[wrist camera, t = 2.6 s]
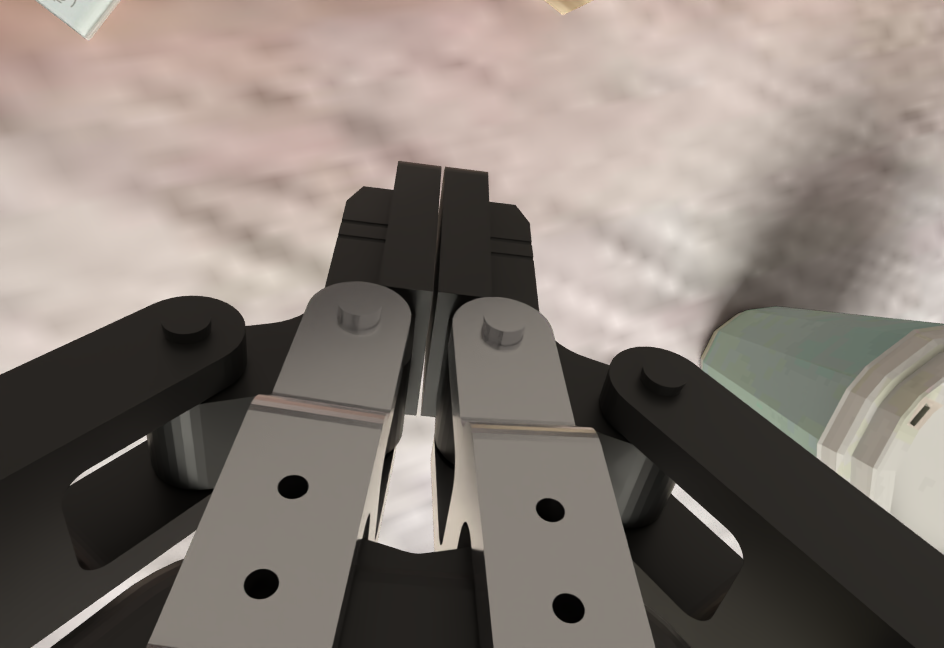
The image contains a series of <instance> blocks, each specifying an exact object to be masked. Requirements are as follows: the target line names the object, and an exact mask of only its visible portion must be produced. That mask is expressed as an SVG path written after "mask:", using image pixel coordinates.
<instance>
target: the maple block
mask: <svg viewBox="0 0 944 648" xmlns="http://www.w3.org/2000/svg"><path fill="white" fill-rule="evenodd" d="M544 1H546V2H547V3H548V4H549V5H551V6H552V7H553V8H554V9H556V10H557V11H558V12H559V13H561V14H562V15H564V14H566V13H568V12H570V11H572V10H574V9H577V8H579V7H581V6H583V5H585V4H587V3H589V2H591V1H593V0H544Z"/></svg>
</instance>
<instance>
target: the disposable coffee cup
mask: <svg viewBox="0 0 944 648" xmlns="http://www.w3.org/2000/svg"><path fill="white" fill-rule="evenodd" d="M701 369H702V370H703V371H704V372H705V373H707V374H708V375H709V376H711V377H712V378H713V379H715V380H716V381H717V382H719V383H720V384H721V385H722V386H724V387H725V388H726V389H728V390H729V391H730V392H732V393H733V394H734V395H736V396H737V397H738V398H739V399H741V400H742V401H743V402H745V403H746V404H747V405H749V406H750V407H751V408H752V409H754V410H755V411H756V412H758V413H759V414H760V415H762V416H763V417H764V418H766V419H767V420H768V421H769V422H771V423H772V424H773V425H775V426H776V427H777V428H779V429H780V430H781V431H783V432H784V433H785V434H786V435H788V436H789V437H790V438H792V439H793V440H794V441H796V442H797V443H798V444H800V445H801V446H802V447H803V448H805V449H806V450H807V451H809V452H810V453H811V454H813V455H814V456H815V457H817V458H818V459H819V460H820V461H822V462H823V463H824V464H826V465H827V466H828V467H830V468H831V469H832V470H834V471H835V472H836V473H837V474H839V475H840V476H841V477H843V478H844V479H845V480H847V481H848V482H849V483H851V484H852V485H853V486H854V487H856V488H857V489H858V490H860V491H861V492H862V493H864V494H865V495H866V496H868V497H869V498H870V499H871V500H873V501H874V502H875V503H877V504H878V505H879V506H881V507H882V508H883V509H885V510H886V511H887V512H888V513H890V514H891V515H892V516H894V517H895V518H896V519H898V520H899V521H900V522H901V523H903V524H904V525H905V526H907V527H908V528H909V529H911V530H912V531H913V532H915V533H916V534H917V535H918V536H920V537H921V538H922V539H924V540H925V541H926V542H928V543H929V544H930V545H932V546H933V547H934V548H935V549H937V550H938V551H939V552H941V553H942V554H943V555H944V324H940V323H931V322H921V321H912V320H902V319H893V318H883V317H874V316H864V315H855V314H845V313H836V312H826V311H816V310H807V309H797V308H788V307H778V306H775V307H767V308H760V309H752V310H745V311H744V312H741V313H738V314H736V315H735V316H734V317H732V318H731V319H730V320H728V321H727V322H726V323H724V324H723V325H722V326H720V327H719V328H718V329H716V330H715V331H714V333H713V335H712V337H711V339H710V341H709V343H708V345H707V347H706V349H705V351H704V353H703V354H702V356H701Z"/></svg>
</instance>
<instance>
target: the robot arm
mask: <svg viewBox="0 0 944 648" xmlns="http://www.w3.org/2000/svg"><path fill="white" fill-rule="evenodd" d="M440 181H441V166H434V165H426V164H419V163H411V162H403V161H398V166H397V172H396V179H395V185H394V190H389V189H381V188H373V187H365V186H363V187H362V188H361V189H360V190H359V191H357V192H356V193H355V194H354V195H353V196H352V197H350V198H349V199H348V200H347V202H346V206H345V210H344V213H343V217H342V223H341V225H340V229H339V233H338V238H337V241H336V245H335V249H334V253H333V257H332V261H331V265H330V269H329V273H328V277H327V281H326V285H325V288H324V289H322V290H320V291H319V292H317V293H316V294H315V295H314V296H313V297H312V298H311V299H310V301H309V303H308V305H307V307H306V310H305V312H304V314H302V315H300V316H298V317H295V318H293V319H290V320H286V321H282V322H277V323H270V324H261V325H252V326H245V321H244V319H243V317H242V315H241V314H240V313H239V311H237V310H236V309H235V308H234V307H233V306H231V305H229V304H228V303H226V302H223V301H221V300H218V299H214V298H210V297H203V296H181V297H175V298H170V299H166V300H162V301H160V302H157V303H155V304H152V305H150V306H148V307H146V308H144V309H141V310H139V311H137V312H135V313H133V314H131V315H128V316H126V317H124V318H122V319H120V320H118V321H115V322H113V323H111V324H109V325H107V326H105V327H103V328H100V329H98V330H96V331H94V332H92V333H90V334H87V335H85V336H83V337H81V338H79V339H77V340H74V341H72V342H70V343H68V344H66V345H64V346H61V347H59V348H57V349H55V350H53V351H51V352H48V353H46V354H44V355H42V356H40V357H38V358H35V359H33V360H31V361H29V362H27V363H25V364H22V365H20V366H18V367H16V368H14V369H12V370H10V371H7V372H5V373H3V374H1V375H0V648H31V647H32V646H34V645H35V644H37V643H38V642H39V641H41V640H42V639H44V638H45V637H46V636H48V635H49V634H51V633H52V632H53V631H55V630H56V629H58V628H59V627H60V626H62V625H63V624H65V623H66V622H67V621H69V620H70V619H72V618H73V617H74V616H76V615H77V614H79V613H80V612H82V611H83V610H84V609H86V608H87V607H89V606H90V605H91V604H93V603H94V602H96V601H97V600H98V599H100V598H101V597H103V596H104V595H105V594H107V593H108V592H110V591H111V590H112V589H114V588H115V587H117V586H118V585H120V584H121V583H122V582H124V581H125V580H127V579H128V578H129V577H131V576H132V575H134V574H135V573H136V572H138V571H139V570H141V569H142V568H143V567H145V566H146V565H148V564H149V563H150V562H152V561H153V560H155V559H156V558H157V557H159V556H160V555H162V554H163V553H165V552H166V551H167V550H169V549H170V548H172V547H173V546H174V545H176V544H177V543H179V542H180V541H181V540H183V539H184V538H186V537H187V536H188V535H190V534H191V533H193V532H194V531H195V530H196V532H195V535H194V537H193V539H192V542H191V544H190V546H189V549H188V551H187V553H186V556H185V558H184V559H182V560H179V561H176V562H174V563H172V564H170V565H168V566H166V567H164V568H162V569H160V570H157V571H155V572H154V573H152V574H150V575H149V576H147V577H145V578H144V579H142V580H140V581H139V582H137V583H135V584H134V585H132V586H131V587H130V588H128V589H127V590H125V591H124V592H123V593H121V594H120V595H119V596H117V597H116V598H115V599H113V600H112V601H111V602H109V603H108V604H107V605H106V606H104V607H103V608H102V609H100V610H99V611H98V612H96V613H95V614H94V615H92V616H91V617H90V618H89V619H87V620H86V621H85V622H83V623H82V624H81V625H79V626H78V627H77V628H75V629H74V630H73V631H72V632H70V633H69V634H68V635H66V636H65V637H64V638H62V639H61V640H60V641H58V642H57V643H56V644H54V645H53V646H52V647H51V648H944V555H943V554H942V553H941V552H939V551H938V550H937V549H935V548H934V547H933V546H932V545H930V544H929V543H928V542H926V541H925V540H924V539H922V538H921V537H920V536H918V535H917V534H916V533H915V532H913V531H912V530H911V529H909V528H908V527H907V526H905V525H904V524H903V523H901V522H900V521H899V520H898V519H896V518H895V517H894V516H892V515H891V514H890V513H888V512H887V511H886V510H885V509H883V508H882V507H881V506H879V505H878V504H877V503H875V502H874V501H873V500H871V499H870V498H869V497H868V496H866V495H865V494H864V493H862V492H861V491H860V490H858V489H857V488H856V487H854V486H853V485H852V484H851V483H849V482H848V481H847V480H845V479H844V478H843V477H841V476H840V475H839V474H837V473H836V472H835V471H834V470H832V469H831V468H830V467H828V466H827V465H826V464H824V463H823V462H822V461H820V460H819V459H818V458H817V457H815V456H814V455H813V454H811V453H810V452H809V451H807V450H806V449H805V448H803V447H802V446H801V445H800V444H798V443H797V442H796V441H794V440H793V439H792V438H790V437H789V436H788V435H786V434H785V433H784V432H783V431H781V430H780V429H779V428H777V427H776V426H775V425H773V424H772V423H771V422H769V421H768V420H767V419H766V418H764V417H763V416H762V415H760V414H759V413H758V412H756V411H755V410H754V409H752V408H751V407H750V406H749V405H747V404H746V403H745V402H743V401H742V400H741V399H739V398H738V397H737V396H736V395H734V394H733V393H732V392H730V391H729V390H728V389H726V388H725V387H724V386H722V385H721V384H720V383H719V382H717V381H716V380H715V379H713V378H712V377H711V376H709V375H708V374H707V373H705V372H704V371H703V370H702V369H700V368H699V367H698V366H696V365H695V364H694V363H692V362H691V361H689V360H688V359H686V358H684V357H682V356H680V355H678V354H676V353H673V352H671V351H668V350H664V349H660V348H655V347H635V348H629V349H627V350H624V351H622V352H620V353H619V354H617V355H616V356H615V357H614V358H613V360H612V362H611V363H610V365H607V364H604V363H601V362H598V361H595V360H592V359H589V358H586V357H584V356H581V355H579V354H576V353H574V352H572V351H570V350H568V349H566V348H565V347H563V346H562V345H560V344H559V343H558V342H556V341H555V338H554V334H553V330H552V327H551V325H550V323H549V322H548V320H547V319H546V318H545V317H544V316H543V315H542V314H541V313H540V312H539V305H538V296H537V287H536V278H535V269H534V261H533V250H532V245H531V242H532V241H531V232H530V223H529V222H528V220H527V219H526V218H525V217H524V215H523V214H522V213H521V211H520V210H519V209H518V208H517V206H516V205H511V204H503V203H495V202H489V184H488V172H483V171H475V170H467V169H459V168H451V167H445V170H444V176H443V183H442V191H441V199H440V206H439V196H440ZM438 211H439V214H438ZM425 348H426V350H425ZM424 355H425V364H424V378H423V392H422V406H421V416H430V417H435V434H434V440H433V446H432V453H431V483H432V507H433V531H434V552H431V553H423V554H415V553H409V552H405V551H402V550H399V549H396V548H392V547H389V546H386V545H383V544H380V543H378V538H379V533H380V528H381V523H382V518H383V513H384V508H385V503H386V498H387V493H388V489H389V484H390V479H391V474H392V469H393V464H394V459H395V451H396V445H397V444H398V443H399V441H400V438H401V436H402V431H403V423H404V415H405V414H407V415H416V414H417V407H418V399H419V392H420V385H421V377H422V370H423V362H424ZM145 435H147V440H146V441H145V442H143V443H141V444H140V445H138V446H136V447H135V448H133V449H131V450H129V451H128V452H126V453H124V454H123V455H121V456H119V457H118V458H116V459H114V460H113V461H111V462H109V463H107V464H106V465H104V466H102V467H101V468H99V469H97V470H96V471H94V472H92V473H91V474H89V475H87V476H85V477H84V478H82V479H80V480H79V481H77V482H75V483H74V484H72V485H70V484H71V483H72V482H73V481H74V480H75V479H76V478H77V477H78V476H79V475H80V474H82V473H83V472H84V471H86V470H87V469H89V468H91V467H93V466H94V465H96V464H98V463H99V462H101V461H103V460H104V459H106V458H108V457H110V456H111V455H113V454H115V453H116V452H118V451H120V450H122V449H123V448H125V447H127V446H128V445H130V444H132V443H134V442H135V441H137V440H139V439H140V438H142V437H144V436H145ZM675 483H676V484H678V485H679V486H680V487H681V488H682V489H683V490H684V491H685V492H687V493H688V494H689V495H690V496H691V497H692V498H693V499H694V500H695V501H697V502H698V503H699V504H700V505H701V506H702V507H703V508H704V509H706V510H707V511H708V512H709V513H710V514H711V515H712V516H713V517H715V518H716V519H717V520H718V521H719V522H720V523H721V524H722V525H724V526H725V527H726V528H727V529H728V530H729V531H730V532H731V533H732V534H733V536H734V537H735V538H736V540H737V541H738V543H739V545H740V547H741V550H742V553H743V559H742V558H741V557H740V556H739V555H738V554H737V553H736V552H735V551H734V550H732V549H731V548H730V547H729V546H728V545H727V544H726V543H725V542H724V541H723V540H721V539H720V538H719V537H718V536H717V535H716V534H715V533H714V532H713V531H712V530H710V529H709V528H708V527H707V526H706V525H705V524H704V523H703V522H702V521H700V520H699V519H698V518H697V517H696V516H695V515H694V514H693V513H692V512H691V511H689V510H688V509H687V508H686V507H685V506H684V505H683V504H682V503H681V502H679V501H678V500H677V499H676V498H675V497H674V496H673V495H672V494H671V492H672V490H673V488H674V486H675Z"/></svg>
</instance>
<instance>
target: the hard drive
mask: <svg viewBox="0 0 944 648" xmlns="http://www.w3.org/2000/svg"><path fill="white" fill-rule="evenodd" d="M36 1H37V2H38V3H40V4H41V5H42V6H43V7H45V8H46V9H47V10H49V11H50V12H51V13H53V14H54V15H55V16H57V17H58V18H59V19H60V20H62V21H63V22H64V23H66V24H67V25H68V26H70V27H71V28H72V29H73V30H75V31H76V32H77V33H78V34H80V35H81V36H82V37H84V38H85V39H87V40H88V41H89V40H90V39H91V38H92V37H93V36H94V34H95V33H96V32H97V30H98V29H99V28H100V27H101V25H102V24H103V23H104V21H105V20H106V19H107V17H108V16H109V15H110V14H111V12H112V11H113V10H114V8H115V7H116V6H117V5H118V3H119V2H120V1H121V0H36Z"/></svg>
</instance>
